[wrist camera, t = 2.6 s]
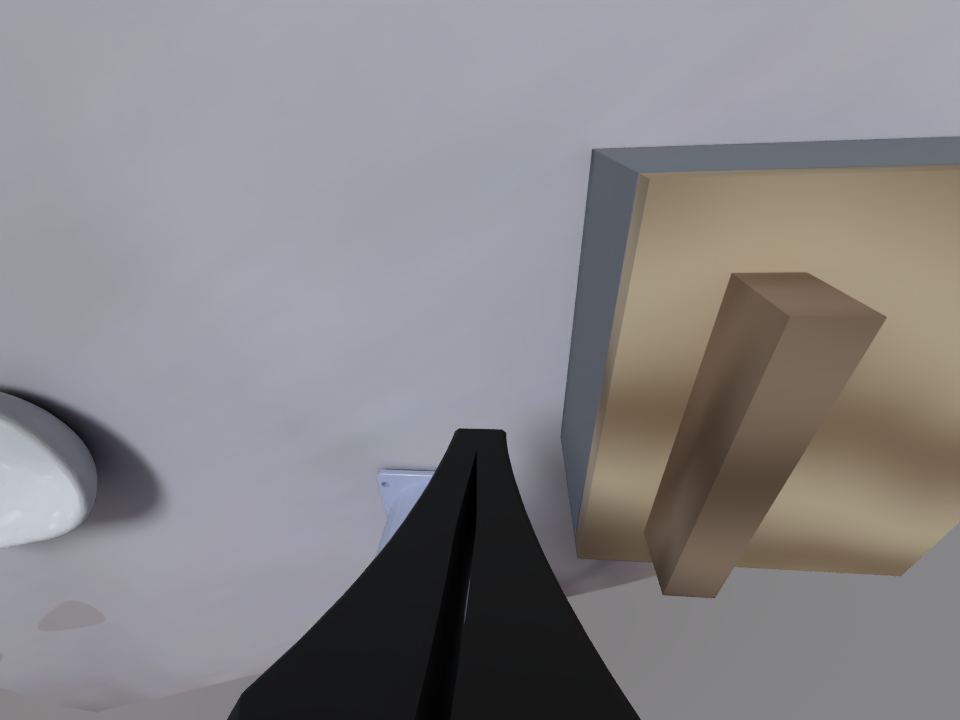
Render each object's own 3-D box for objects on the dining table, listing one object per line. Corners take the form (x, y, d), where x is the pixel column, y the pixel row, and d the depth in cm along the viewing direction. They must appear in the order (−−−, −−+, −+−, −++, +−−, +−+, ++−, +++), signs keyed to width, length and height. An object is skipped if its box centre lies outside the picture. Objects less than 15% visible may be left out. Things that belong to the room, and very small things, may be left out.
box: (790, 442, 20) (881, 552, 15) (560, 436, 21) (574, 537, 16) (966, 136, 12) (1268, 154, 7) (592, 149, 13) (637, 172, 8)
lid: (883, 555, 15) (956, 644, 13) (574, 539, 16) (586, 618, 14) (1278, 155, 7) (1667, 179, 5) (638, 173, 8) (691, 200, 6)
